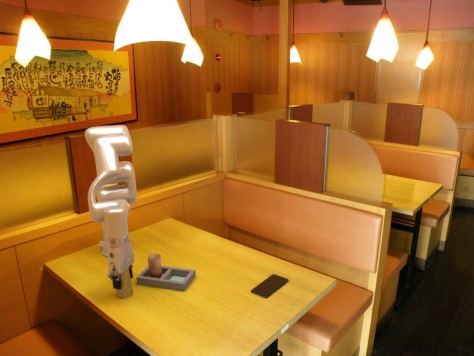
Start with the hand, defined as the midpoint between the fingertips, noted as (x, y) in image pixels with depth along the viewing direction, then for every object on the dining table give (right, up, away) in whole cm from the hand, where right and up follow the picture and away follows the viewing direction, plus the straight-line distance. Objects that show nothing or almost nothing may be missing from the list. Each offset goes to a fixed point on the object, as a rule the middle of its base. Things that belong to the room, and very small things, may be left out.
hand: (123, 282), depth 143 cm
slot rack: (+14, -2, +10) cm, 18 cm away
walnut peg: (+10, -2, +12) cm, 15 cm away
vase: (0, -5, +1) cm, 5 cm away
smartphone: (+55, -3, +4) cm, 56 cm away
